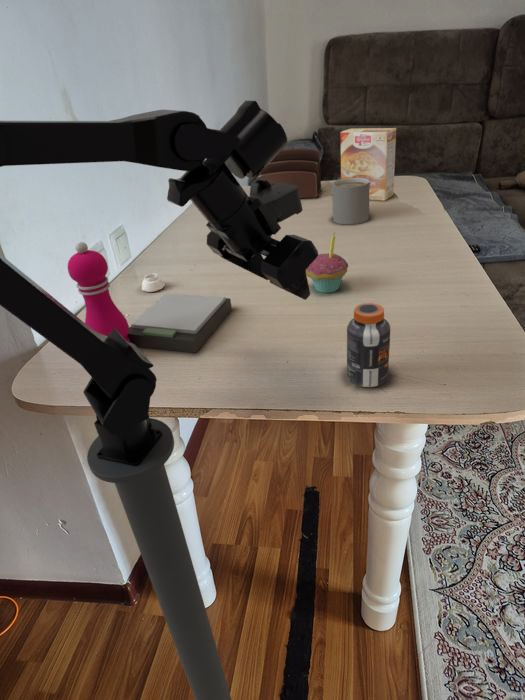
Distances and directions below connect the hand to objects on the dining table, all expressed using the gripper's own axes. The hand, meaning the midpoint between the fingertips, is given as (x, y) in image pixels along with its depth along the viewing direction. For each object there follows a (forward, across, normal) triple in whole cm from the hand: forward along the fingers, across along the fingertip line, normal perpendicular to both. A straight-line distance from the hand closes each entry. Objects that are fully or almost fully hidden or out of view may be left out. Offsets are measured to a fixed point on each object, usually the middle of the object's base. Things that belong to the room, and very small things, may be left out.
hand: (287, 286), depth 69 cm
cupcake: (+23, +18, -12) cm, 31 cm away
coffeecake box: (+50, +61, -57) cm, 97 cm away
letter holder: (+43, +83, -45) cm, 104 cm away
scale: (+7, +24, +14) cm, 29 cm away
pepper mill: (-8, +24, +20) cm, 32 cm away
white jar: (+9, +45, +11) cm, 48 cm away
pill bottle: (+15, -10, +2) cm, 18 cm away
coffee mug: (+41, +49, -42) cm, 76 cm away
